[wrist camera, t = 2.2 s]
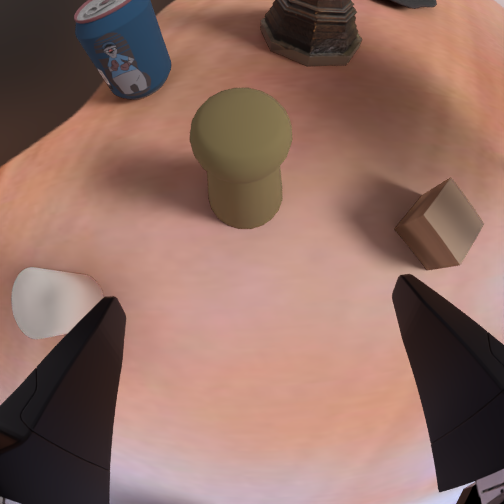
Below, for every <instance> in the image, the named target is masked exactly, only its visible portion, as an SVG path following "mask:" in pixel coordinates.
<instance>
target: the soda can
mask: <svg viewBox="0 0 504 504" xmlns="http://www.w3.org/2000/svg"><path fill="white" fill-rule="evenodd" d="M74 20H75V21H76V29H75V31H76V32H75V34H76V37H77V38H78V40H79V42H80V43H81V45H82V46H83V48H84V49H85V51H86V52H87V54H88V56H89V57H90V58H91V60H92V62H93V63H94V65H95V66H96V68H97V70H98V71H99V73H100V74H101V76H102V77H103V79H104V80H105V82H106V83H107V85H108V86H109V88H110V89H111V91H112V92H113V93H114V94H115V95H117V96H119V97H122V98H126V99H141V98H144V97H147V96H149V95H151V94H153V93H154V92H156V91H157V90H158V89H160V88H161V87H162V85H163V84H164V83H165V81H166V79H167V77H168V75H169V73H170V70H171V60H170V57H169V54H168V51H167V49H166V46H165V43H164V40H163V37H162V34H161V31H160V28H159V25H158V22H157V19H156V16H155V13H154V10H153V7H152V4H151V1H150V0H88V1H87V2H85V3H84V4H83V5H82V6H81V7H80V8H79V9H78V10H77V12H76V13H75V16H74Z"/></svg>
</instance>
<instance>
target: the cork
mask: <svg viewBox="0 0 504 504" xmlns="http://www.w3.org/2000/svg"><path fill="white" fill-rule="evenodd" d="M291 142H292V126H291V122H290V119H289V117H288V115H287V113H286V111H285V109H284V108H283V107H282V106H281V105H280V104H279V103H278V102H277V101H276V100H275V99H274V98H273V97H271V96H270V95H268V94H266V93H264V92H262V91H260V90H255V89H251V88H232V89H228V90H224V91H221V92H219V93H217V94H215V95H213V96H212V97H210V98H209V99H208V100H207V101H206V102H205V103H204V104H203V105H202V106H201V107H200V108H199V109H198V110H197V112H196V114H195V116H194V118H193V120H192V123H191V131H190V143H191V147H192V150H193V153H194V156H195V158H196V159H197V160H198V162H199V163H200V165H201V166H202V167H203V169H205V170H206V171H207V181H208V197H209V202H210V205H211V209H212V210H213V212H214V213H215V215H216V216H217V217H218V219H220V220H221V221H222V222H224V223H225V224H227V225H229V226H232V227H235V228H238V229H252V228H255V227H259V226H262V225H264V224H265V223H266V222H268V221H269V220H271V219H272V218H273V217H274V215H275V214H276V213H277V211H278V210H279V208H280V205H281V202H282V182H281V171H280V165H281V164H282V162H283V161H284V160H285V159H286V157H287V154H288V151H289V148H290V145H291Z"/></svg>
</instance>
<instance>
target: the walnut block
mask: <svg viewBox="0 0 504 504" xmlns="http://www.w3.org/2000/svg"><path fill="white" fill-rule="evenodd" d="M483 225H484V223H483V221H482V220H481V218H480V217H479V215H478V214H477V212H476V211H475V209H474V208H473V206H472V205H471V204H470V202H469V201H468V199H467V198H466V197H465V195H464V194H463V192H462V191H461V190H460V188H459V187H458V186H457V184H456V183H455V182H454V181H453V179H452V178H451V177H450V178H449V179H447V180H446V181H444V182H442V183H441V184H439V185H438V186H436V187H434V188H433V189H431V190H430V191H428V192H426V193H425V194H423V195H422V196H421V197H420V198H419V199H418V201H417V202H416V203H415V204H414V206H413V207H412V208H411V209H410V211H409V212H408V213H407V214H406V215H405V217H404V218H403V219H402V220H401V221H400V223H399V224H398V225H397V226H396V227H395V228H394V229H395V231H396V232H397V233H398V234H399V235H400V237H401V238H402V239H403V240H404V241H405V243H406V244H407V245H408V246H409V248H410V249H411V250H412V251H413V253H414V254H415V255H416V257H417V258H418V259H419V260H420V262H421V263H422V264H423V266H424V267H425V268H426V270H433V269H439V268H446V267H452V266H458V265H461V263H462V261H463V260H464V258H465V256H466V255H467V253H468V251H469V250H470V248H471V246H472V245H473V243H474V241H475V239H476V238H477V236H478V234H479V232H480V230H481V228H482V227H483Z"/></svg>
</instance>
